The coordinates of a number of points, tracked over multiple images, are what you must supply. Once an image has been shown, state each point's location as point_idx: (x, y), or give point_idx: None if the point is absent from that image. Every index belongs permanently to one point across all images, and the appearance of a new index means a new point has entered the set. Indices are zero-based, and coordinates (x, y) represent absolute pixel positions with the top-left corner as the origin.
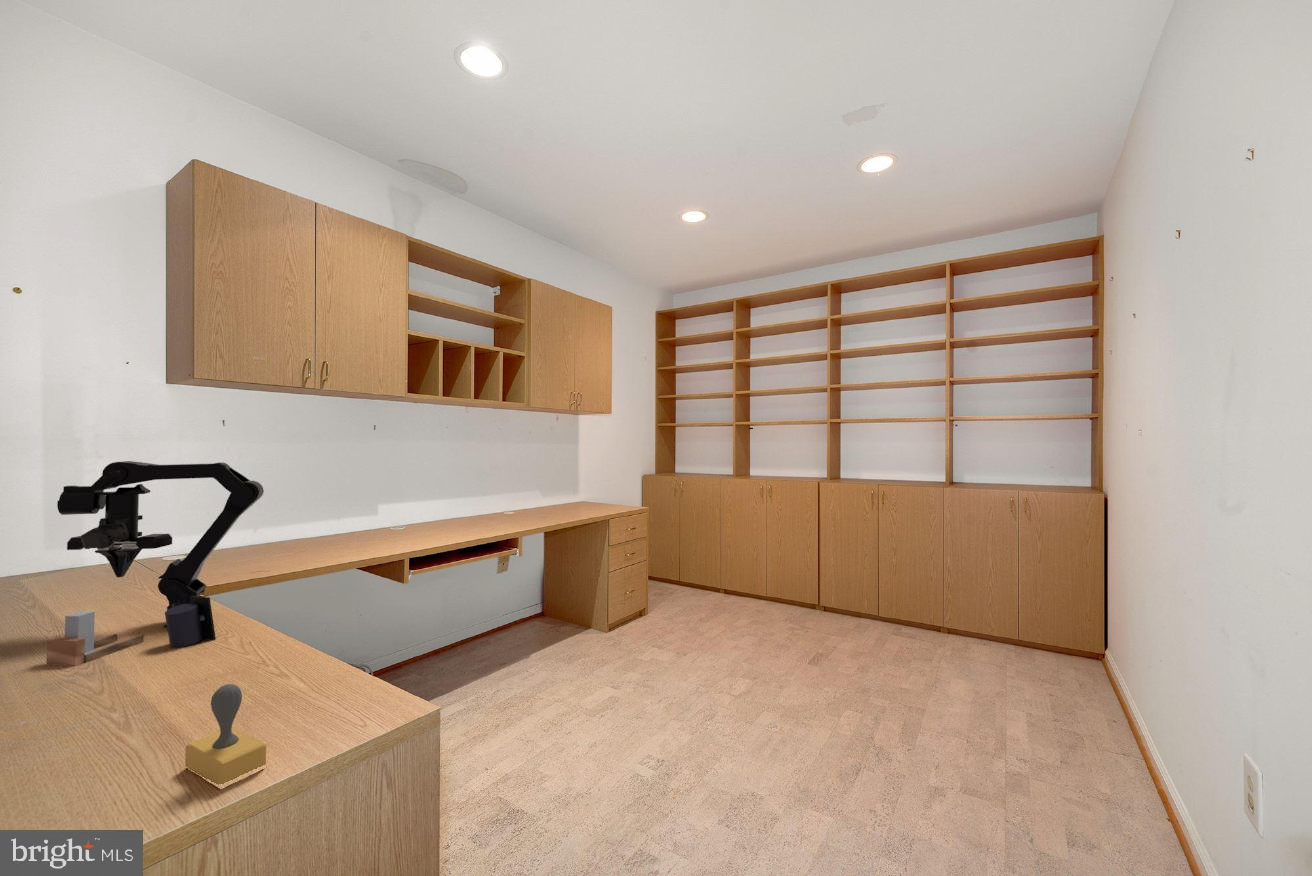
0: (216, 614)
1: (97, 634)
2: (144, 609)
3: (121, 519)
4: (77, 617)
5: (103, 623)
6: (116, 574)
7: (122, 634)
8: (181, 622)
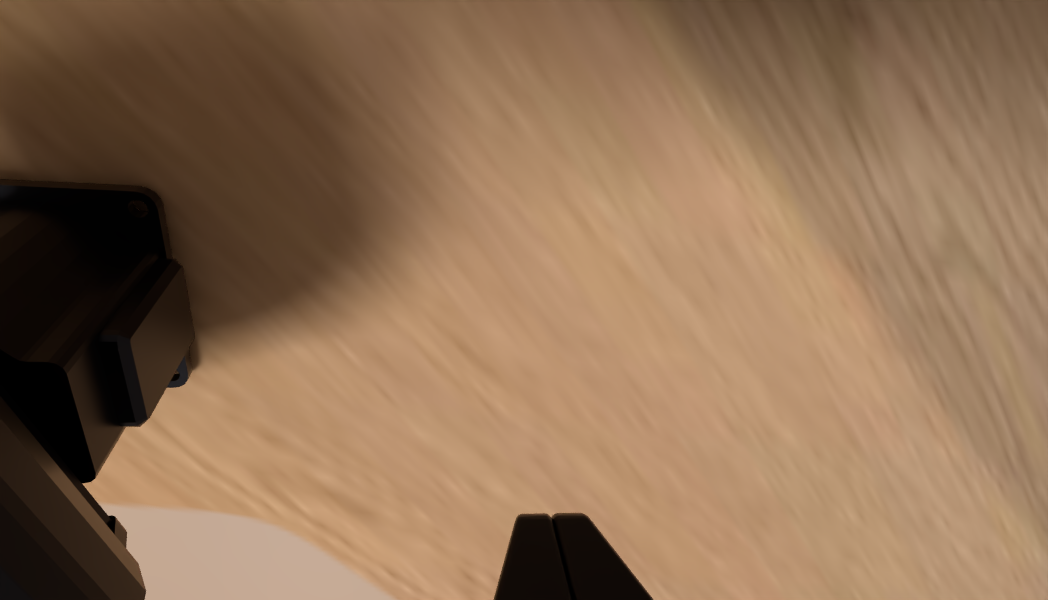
0: None
1: (592, 104)
2: None
3: None
4: None
5: (700, 354)
6: (595, 552)
7: (383, 62)
8: None
